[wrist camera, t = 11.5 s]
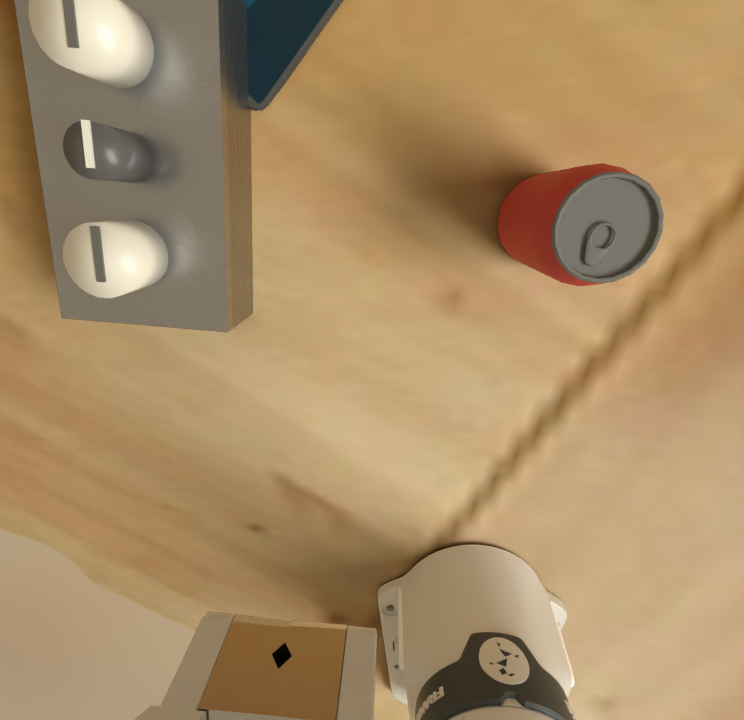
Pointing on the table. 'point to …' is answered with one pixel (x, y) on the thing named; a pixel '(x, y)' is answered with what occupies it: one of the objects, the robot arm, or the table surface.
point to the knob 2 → (114, 257)
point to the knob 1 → (94, 39)
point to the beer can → (582, 223)
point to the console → (159, 164)
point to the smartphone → (280, 42)
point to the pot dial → (106, 152)
